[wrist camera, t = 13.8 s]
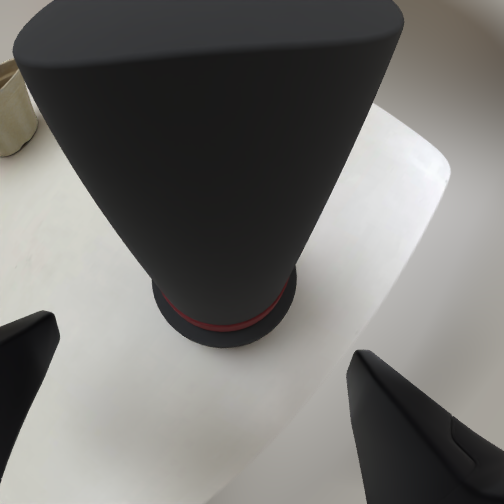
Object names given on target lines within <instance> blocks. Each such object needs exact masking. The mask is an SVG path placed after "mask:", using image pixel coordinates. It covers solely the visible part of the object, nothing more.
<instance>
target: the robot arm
mask: <svg viewBox="0 0 504 504" xmlns="http://www.w3.org/2000/svg"><path fill="white" fill-rule="evenodd" d="M59 340H60V333H59V329H58V326H57V322H56V318H55V315H54V314H53V313H52V312H48V311H44V310H42V311H39V312H36V313H34V314H31V315H29V316H26V317H24V318H21V319H18V320H16V321H13V322H11V323H8V324H6V325H3V326H1V327H0V483H1V478H2V476H3V473H4V471H5V468H6V465H7V462H8V459H9V457H10V454H11V452H12V449H13V446H14V444H15V441H16V439H17V437H18V434H19V432H20V429H21V427H22V425H23V422H24V420H25V418H26V416H27V413H28V411H29V409H30V407H31V405H32V403H33V400H34V398H35V396H36V394H37V392H38V390H39V388H40V386H41V384H42V382H43V380H44V378H45V375H46V373H47V370H48V368H49V365H50V363H51V360H52V358H53V355H54V353H55V350H56V348H57V346H58V343H59ZM346 378H347V388H348V397H349V407H350V417H351V424H352V429H353V434H354V438H355V443H356V448H357V453H358V458H359V463H360V468H361V473H362V478H363V483H364V489H365V494H366V500H367V504H504V451H503V450H501V449H500V448H498V447H496V446H495V445H493V444H491V443H490V442H489V441H487V440H486V439H484V438H482V437H481V436H479V435H478V434H477V433H475V432H473V431H472V430H471V429H470V428H468V427H467V426H466V425H464V424H463V423H461V422H460V421H459V420H458V419H456V418H455V417H454V416H452V415H451V414H450V413H449V412H447V411H446V410H445V409H444V408H442V407H441V406H440V405H438V404H437V403H436V402H435V401H433V400H432V399H431V398H430V397H428V396H427V395H426V394H425V393H423V392H422V391H421V390H419V389H418V388H417V387H416V386H414V385H413V384H412V383H411V382H409V381H408V380H407V379H405V378H404V377H403V376H402V375H401V374H399V373H398V372H397V371H395V370H394V369H393V368H392V367H390V366H389V365H388V364H387V363H385V362H384V361H383V360H382V359H380V358H379V357H378V356H377V355H375V354H374V353H373V352H371V351H370V350H356V351H355V352H354V354H353V357H352V360H351V362H350V365H349V367H348V370H347V375H346Z"/></svg>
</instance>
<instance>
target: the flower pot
mask: <svg viewBox="0 0 504 504" xmlns="http://www.w3.org/2000/svg"><path fill="white" fill-rule="evenodd" d="M37 126H38V120H37V117H36V115H35V112H34V110H33V107H32V104H31V101H30V98H29V95H28V92H27V89H26V85H25V82H24V79H23V77H22V75H21V73H20V70H19V68H18V66H17V64H16V62H15V60H14V58H13V59H9V60H7V61H5V62H3V63H1V64H0V156H9V155H11V154H14V153H15V152H17V151H19V150H20V148H21V147H22V145H23V144H24V143H25V142H27V141H29V140H30V139H31V138H32V136H33V135H34V133H35V131H36V129H37Z"/></svg>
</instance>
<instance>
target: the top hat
mask: <svg viewBox="0 0 504 504" xmlns="http://www.w3.org/2000/svg"><path fill="white" fill-rule="evenodd" d="M403 26H404V18H403V14H402V12H401V10H400V9H399V7H398V6H397V5H396V4H395V3H394V2H393V1H392V0H54V1H52V2H51V3H50V4H48V5H47V6H46V7H44V8H43V9H42V10H41V11H39V12H38V13H37V14H36V15H35V16H34V17H33V18H32V19H31V20H30V21H29V22H28V23H27V24H26V25H25V26H24V27H23V29H22V30H21V31H20V32H19V34H18V36H17V38H16V40H15V42H14V46H13V56H14V60H15V62H16V64H17V66H18V68H19V70H20V73H21V75H22V77H23V79H24V81H25V83H26V85H27V87H28V89H29V91H30V93H31V95H32V97H33V99H34V101H35V103H36V104H37V106H38V108H39V110H40V112H41V114H42V116H43V117H44V119H45V121H46V123H47V125H48V126H49V128H50V130H51V132H52V133H53V135H54V137H55V139H56V140H57V142H58V144H59V145H60V147H61V149H62V151H63V152H64V154H65V155H66V157H67V159H68V160H69V162H70V164H71V165H72V167H73V168H74V170H75V172H76V173H77V175H78V176H79V178H80V179H81V181H82V183H83V184H84V186H85V187H86V189H87V190H88V192H89V193H90V195H91V196H92V198H93V199H94V201H95V202H96V204H97V205H98V207H99V208H100V210H101V211H102V212H103V214H104V215H105V217H106V218H107V220H108V221H109V222H110V224H111V225H112V227H113V228H114V230H115V231H116V232H117V234H118V235H119V236H120V238H121V239H122V241H123V242H124V243H125V245H126V246H127V247H128V249H129V250H130V251H131V253H132V254H133V255H134V257H135V258H136V259H137V261H138V262H139V263H140V265H141V266H142V267H143V268H144V270H145V271H146V272H147V274H148V275H149V276H150V277H151V279H152V289H153V293H154V298H155V300H156V303H157V306H158V308H159V309H160V311H161V313H162V315H163V316H164V318H165V319H166V320H167V322H168V323H169V324H170V325H171V326H172V327H173V328H174V329H175V330H177V331H178V332H179V333H180V334H182V335H183V336H184V337H186V338H188V339H190V340H192V341H194V342H196V343H199V344H201V345H205V346H209V347H216V348H233V347H239V346H243V345H246V344H250V343H252V342H254V341H256V340H259V339H260V338H262V337H263V336H265V335H267V334H268V333H269V332H270V331H272V330H273V329H274V328H275V327H276V326H277V325H278V324H279V322H280V321H281V320H282V319H283V318H284V316H285V315H286V313H287V312H288V310H289V308H290V306H291V303H292V301H293V298H294V295H295V290H296V281H297V274H296V266H295V264H296V262H297V260H298V259H299V257H300V255H301V253H302V251H303V249H304V247H305V245H306V243H307V241H308V239H309V237H310V235H311V233H312V231H313V229H314V227H315V225H316V223H317V221H318V219H319V217H320V215H321V213H322V211H323V209H324V207H325V205H326V203H327V201H328V199H329V196H330V194H331V192H332V190H333V188H334V186H335V184H336V182H337V180H338V178H339V176H340V173H341V171H342V169H343V167H344V165H345V163H346V161H347V159H348V156H349V154H350V152H351V150H352V148H353V146H354V143H355V141H356V139H357V137H358V135H359V132H360V130H361V128H362V126H363V123H364V121H365V119H366V117H367V114H368V112H369V110H370V108H371V105H372V103H373V100H374V98H375V96H376V94H377V91H378V89H379V87H380V84H381V82H382V79H383V77H384V75H385V72H386V70H387V67H388V65H389V63H390V60H391V58H392V55H393V53H394V50H395V48H396V45H397V43H398V40H399V38H400V35H401V33H402V30H403Z"/></svg>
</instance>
